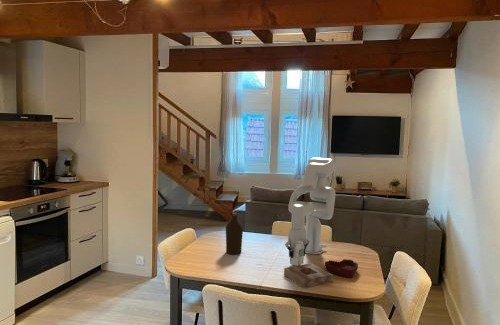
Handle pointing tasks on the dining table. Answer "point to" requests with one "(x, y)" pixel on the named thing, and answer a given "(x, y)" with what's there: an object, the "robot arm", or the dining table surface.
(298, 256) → the syrup box
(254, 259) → the dining table surface
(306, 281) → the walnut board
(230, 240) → the olive oil
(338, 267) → the ashtray
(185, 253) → the dining table surface
